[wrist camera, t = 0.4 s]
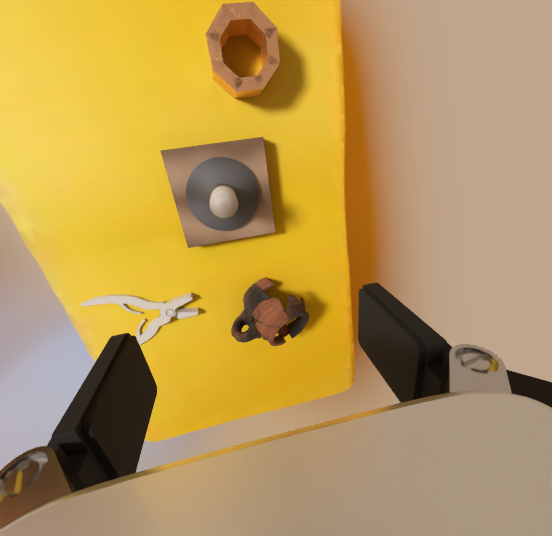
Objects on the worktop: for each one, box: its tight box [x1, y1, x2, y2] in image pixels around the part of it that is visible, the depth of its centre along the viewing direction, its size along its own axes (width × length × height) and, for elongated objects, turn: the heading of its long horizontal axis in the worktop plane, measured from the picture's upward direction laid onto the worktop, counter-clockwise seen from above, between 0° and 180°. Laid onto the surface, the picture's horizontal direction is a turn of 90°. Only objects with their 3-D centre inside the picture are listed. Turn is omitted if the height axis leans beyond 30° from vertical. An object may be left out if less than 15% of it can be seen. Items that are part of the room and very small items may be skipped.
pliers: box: [81, 293, 199, 345], centre depth 40 cm, size 10×2×15 cm
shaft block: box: [161, 137, 275, 248], centre depth 31 cm, size 12×12×10 cm
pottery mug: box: [231, 278, 309, 346], centre depth 42 cm, size 12×10×8 cm
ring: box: [206, 2, 280, 98], centre depth 28 cm, size 7×7×4 cm
